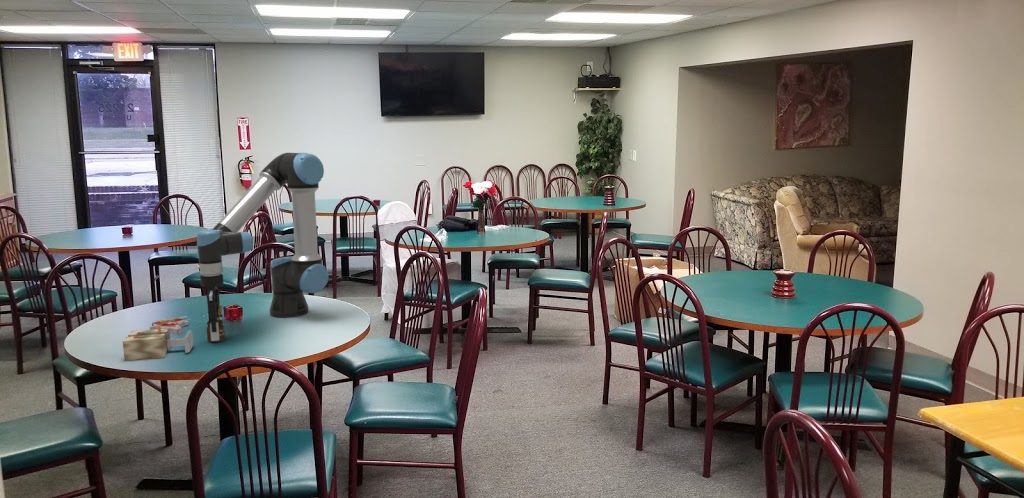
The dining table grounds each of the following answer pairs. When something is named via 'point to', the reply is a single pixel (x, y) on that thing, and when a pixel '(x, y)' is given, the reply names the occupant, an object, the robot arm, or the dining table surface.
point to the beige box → (146, 344)
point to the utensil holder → (221, 327)
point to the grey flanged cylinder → (180, 340)
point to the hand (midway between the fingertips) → (216, 337)
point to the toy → (171, 325)
